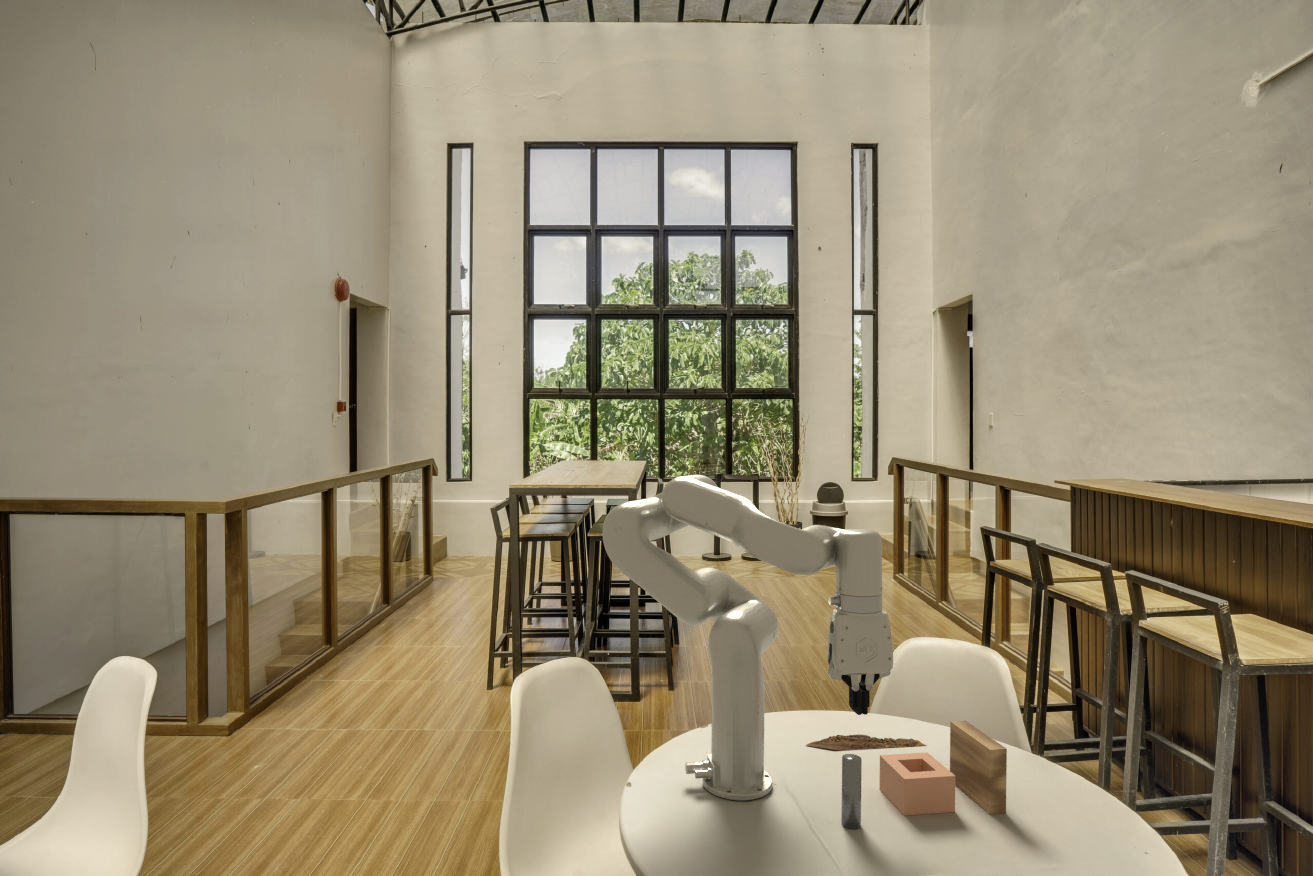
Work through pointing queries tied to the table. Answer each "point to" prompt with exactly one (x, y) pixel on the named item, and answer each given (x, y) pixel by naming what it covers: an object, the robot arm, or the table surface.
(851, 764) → the dowel
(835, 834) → the table surface
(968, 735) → the block
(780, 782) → the table surface
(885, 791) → the block
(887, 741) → the wooden fragment
